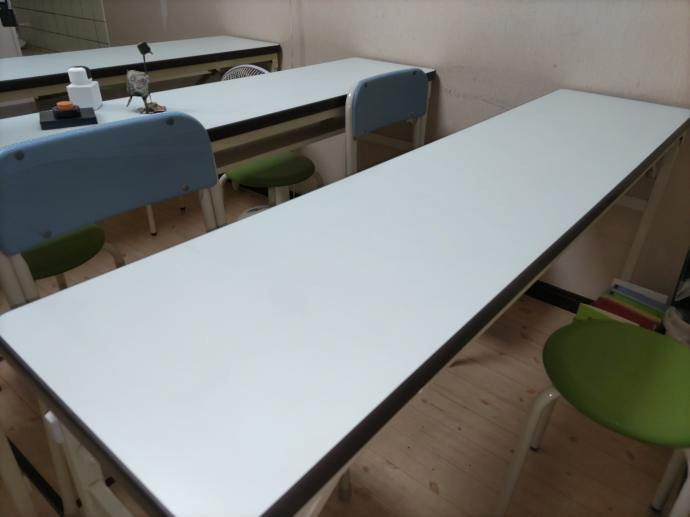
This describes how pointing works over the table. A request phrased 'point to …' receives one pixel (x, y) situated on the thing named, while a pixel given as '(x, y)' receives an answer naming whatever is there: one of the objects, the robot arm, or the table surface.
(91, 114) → the button housing
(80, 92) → the medicine bottle
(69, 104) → the release button
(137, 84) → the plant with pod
